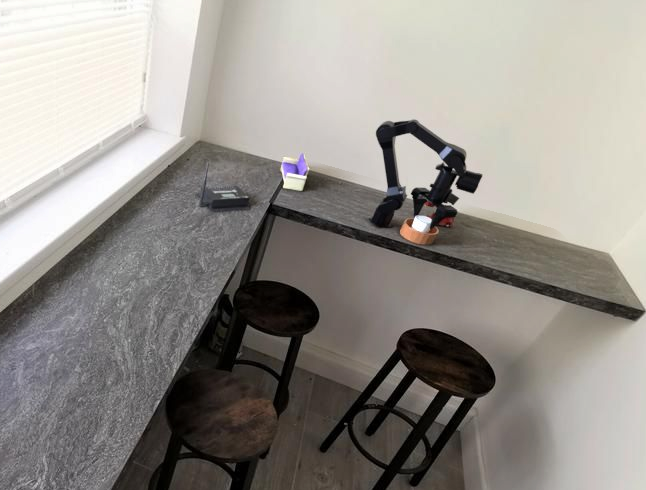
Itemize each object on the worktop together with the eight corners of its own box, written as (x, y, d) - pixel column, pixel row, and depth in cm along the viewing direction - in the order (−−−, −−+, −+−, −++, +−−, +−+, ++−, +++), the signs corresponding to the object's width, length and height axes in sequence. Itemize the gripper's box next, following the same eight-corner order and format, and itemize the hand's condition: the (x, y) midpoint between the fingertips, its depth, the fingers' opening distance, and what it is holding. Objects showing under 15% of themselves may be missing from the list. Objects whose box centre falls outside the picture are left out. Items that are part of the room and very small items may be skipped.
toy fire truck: (451, 227, 198) (463, 206, 192) (418, 222, 198) (429, 200, 192) (448, 224, 201) (460, 202, 195) (415, 218, 201) (426, 197, 195)
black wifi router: (233, 192, 198) (242, 151, 188) (249, 209, 188) (261, 166, 178) (188, 195, 191) (196, 152, 181) (203, 212, 181) (212, 168, 171)
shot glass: (424, 242, 184) (433, 225, 180) (406, 235, 186) (414, 219, 182) (427, 235, 189) (435, 219, 185) (409, 229, 191) (417, 213, 187)
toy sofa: (279, 170, 224) (285, 148, 218) (298, 173, 224) (304, 151, 218) (282, 188, 208) (289, 165, 202) (302, 192, 208) (310, 169, 201)
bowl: (412, 245, 182) (418, 234, 179) (393, 228, 191) (398, 218, 188) (440, 244, 185) (445, 234, 182) (419, 228, 194) (424, 218, 191)
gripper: (479, 196, 170) (457, 235, 179) (443, 173, 184) (424, 211, 193) (453, 195, 167) (432, 235, 177) (419, 172, 181) (401, 210, 191)
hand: (423, 222), depth 184 cm, fingers open, 9 cm apart
